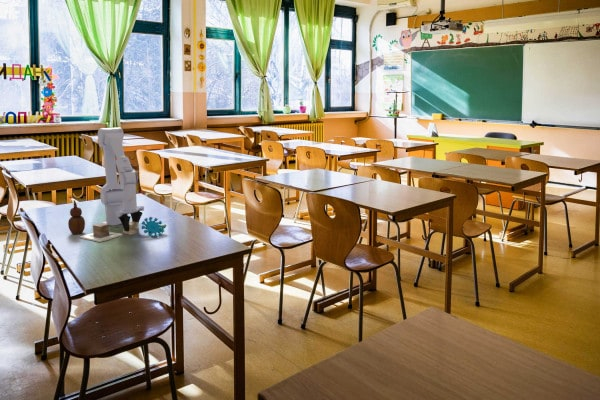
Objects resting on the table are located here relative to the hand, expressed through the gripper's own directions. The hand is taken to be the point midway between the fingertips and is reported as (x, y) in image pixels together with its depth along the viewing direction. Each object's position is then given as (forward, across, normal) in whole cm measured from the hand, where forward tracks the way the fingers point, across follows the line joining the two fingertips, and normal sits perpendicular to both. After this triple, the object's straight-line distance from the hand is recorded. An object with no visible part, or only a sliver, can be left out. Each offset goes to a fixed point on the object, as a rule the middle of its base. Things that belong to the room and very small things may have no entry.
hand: (131, 229), depth 241 cm
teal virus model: (+2, +2, -11) cm, 12 cm away
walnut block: (+1, -11, +6) cm, 12 cm away
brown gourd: (+2, -13, +19) cm, 23 cm away
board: (+1, -11, +6) cm, 13 cm away
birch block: (+1, 0, 0) cm, 1 cm away
